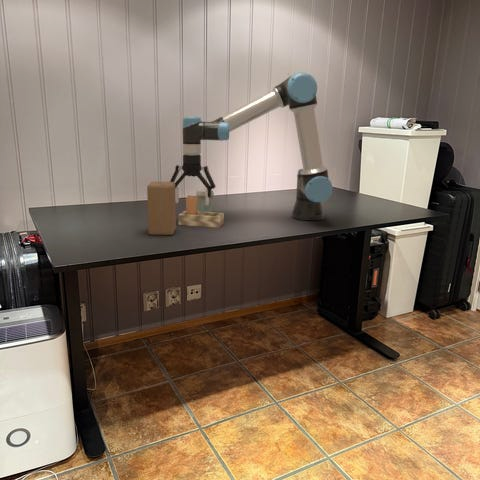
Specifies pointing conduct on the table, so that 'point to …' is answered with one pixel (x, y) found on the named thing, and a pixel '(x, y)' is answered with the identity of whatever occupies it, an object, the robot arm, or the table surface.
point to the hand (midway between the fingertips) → (192, 203)
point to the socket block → (202, 219)
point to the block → (161, 208)
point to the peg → (192, 205)
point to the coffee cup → (204, 200)
